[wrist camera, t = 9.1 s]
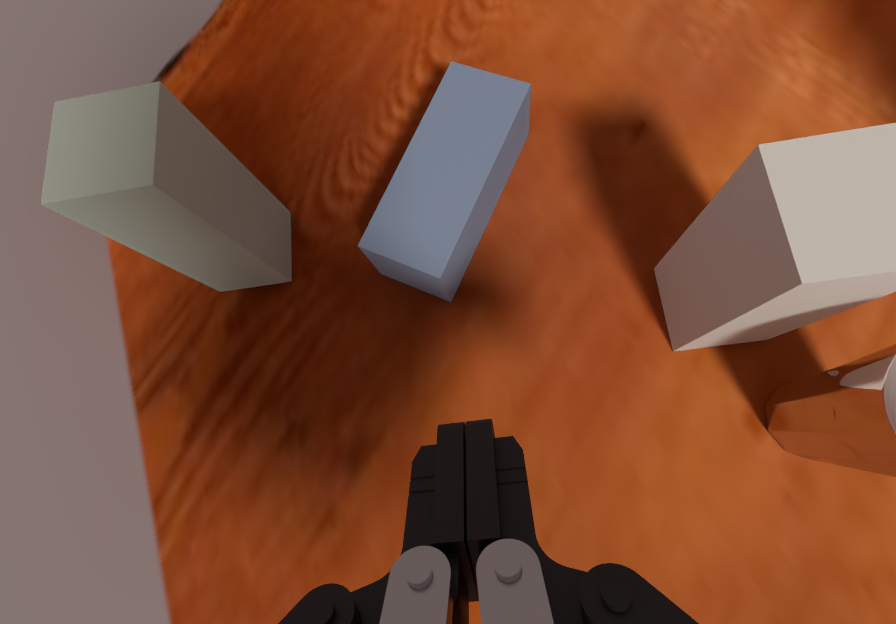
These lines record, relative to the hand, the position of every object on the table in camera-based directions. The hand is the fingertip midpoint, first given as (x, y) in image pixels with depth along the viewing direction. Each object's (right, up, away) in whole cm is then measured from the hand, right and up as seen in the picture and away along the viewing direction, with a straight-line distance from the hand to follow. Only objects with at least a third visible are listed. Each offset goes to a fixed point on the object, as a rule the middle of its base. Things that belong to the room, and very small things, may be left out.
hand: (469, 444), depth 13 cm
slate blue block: (-2, +5, +9) cm, 11 cm away
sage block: (-11, +7, +12) cm, 18 cm away
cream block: (+11, +4, +9) cm, 15 cm away
